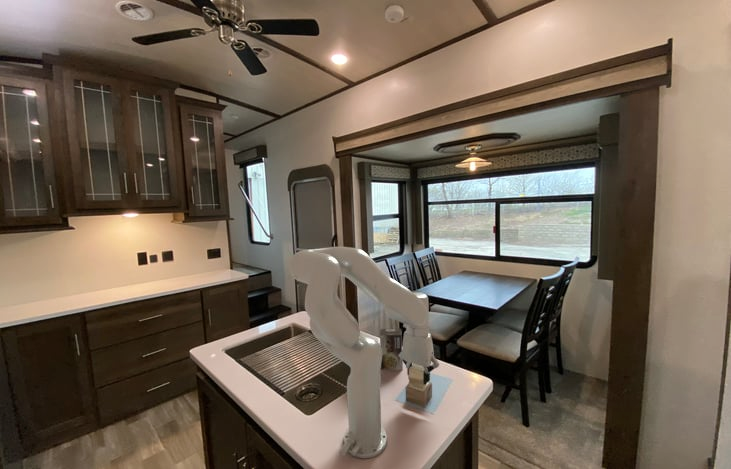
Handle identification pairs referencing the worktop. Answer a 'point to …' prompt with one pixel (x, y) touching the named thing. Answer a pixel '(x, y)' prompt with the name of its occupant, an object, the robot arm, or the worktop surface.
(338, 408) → the worktop surface
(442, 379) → the board
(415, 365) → the maple block
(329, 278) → the robot arm
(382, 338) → the coffee box
